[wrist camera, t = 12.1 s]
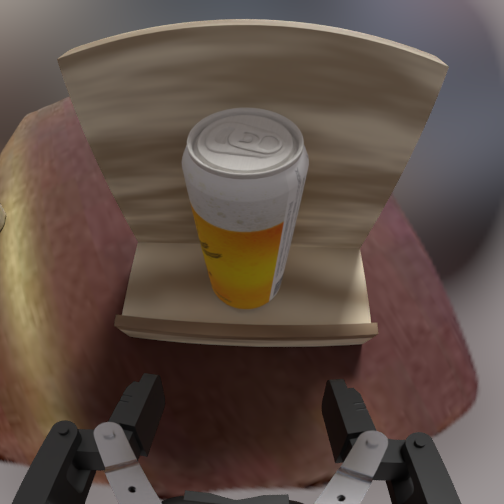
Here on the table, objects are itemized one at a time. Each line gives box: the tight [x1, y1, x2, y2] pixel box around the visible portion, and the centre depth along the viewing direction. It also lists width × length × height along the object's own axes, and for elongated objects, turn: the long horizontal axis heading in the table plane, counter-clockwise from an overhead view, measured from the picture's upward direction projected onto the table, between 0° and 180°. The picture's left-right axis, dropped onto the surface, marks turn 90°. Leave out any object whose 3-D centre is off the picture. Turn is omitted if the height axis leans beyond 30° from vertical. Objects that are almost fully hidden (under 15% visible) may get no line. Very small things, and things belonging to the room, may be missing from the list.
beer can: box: [182, 108, 309, 309], centre depth 18 cm, size 6×6×15 cm
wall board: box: [57, 19, 449, 347], centre depth 17 cm, size 11×22×22 cm, turn 89°
